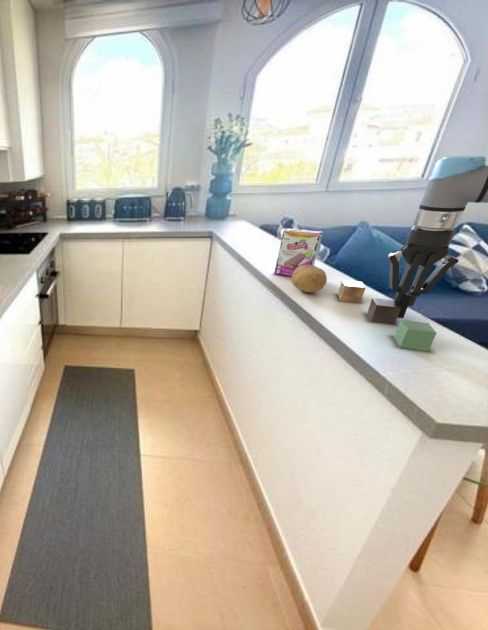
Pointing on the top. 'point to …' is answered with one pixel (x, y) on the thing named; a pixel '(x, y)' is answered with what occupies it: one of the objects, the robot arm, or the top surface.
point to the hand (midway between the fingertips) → (398, 315)
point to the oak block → (351, 291)
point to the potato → (309, 278)
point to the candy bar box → (297, 250)
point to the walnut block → (383, 311)
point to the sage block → (414, 335)
